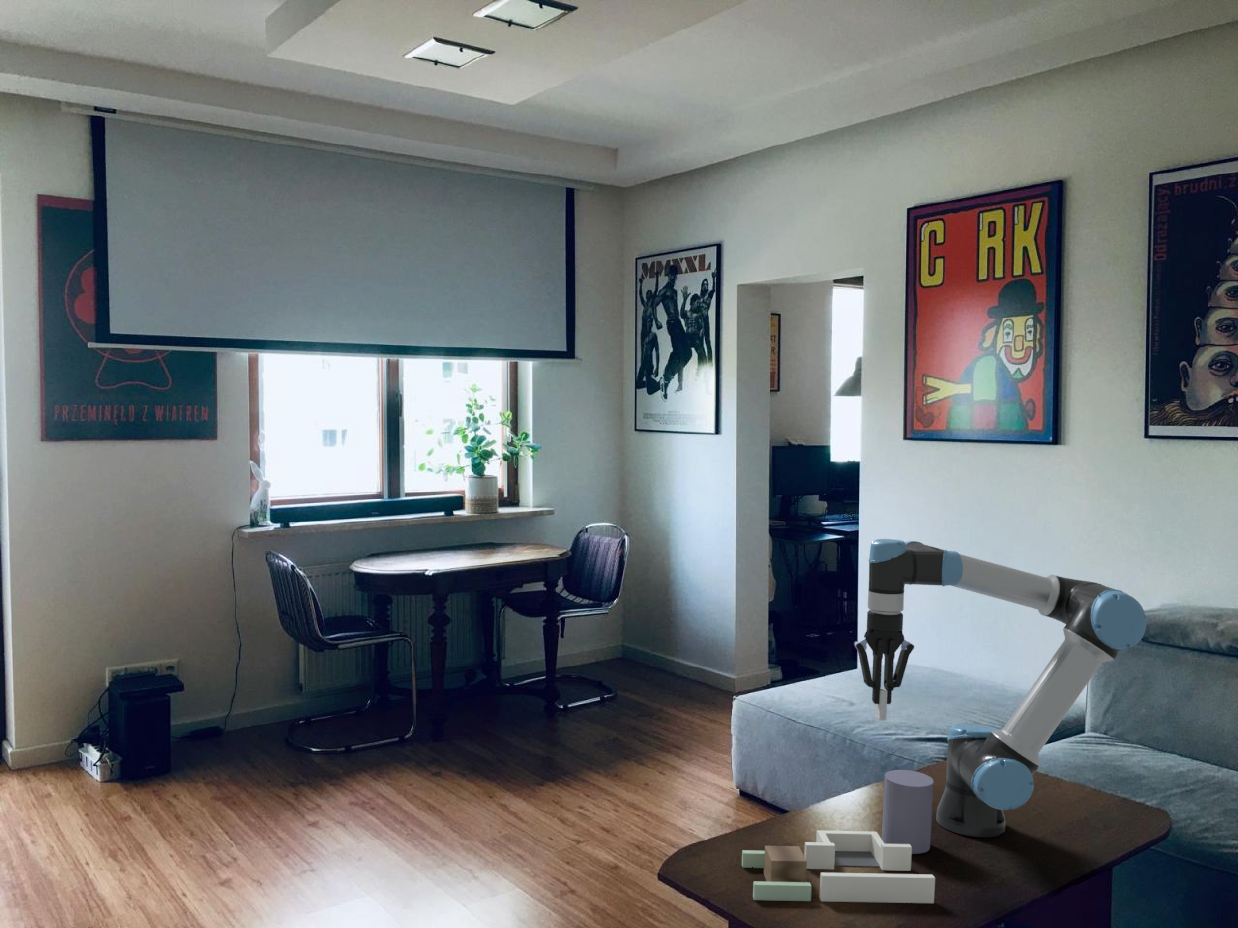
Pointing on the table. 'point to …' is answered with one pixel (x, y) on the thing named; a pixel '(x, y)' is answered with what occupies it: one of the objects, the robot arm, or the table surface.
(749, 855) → the rails
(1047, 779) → the table surface
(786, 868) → the block
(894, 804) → the lavender cylinder
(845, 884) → the white walled enclosure
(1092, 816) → the table surface
